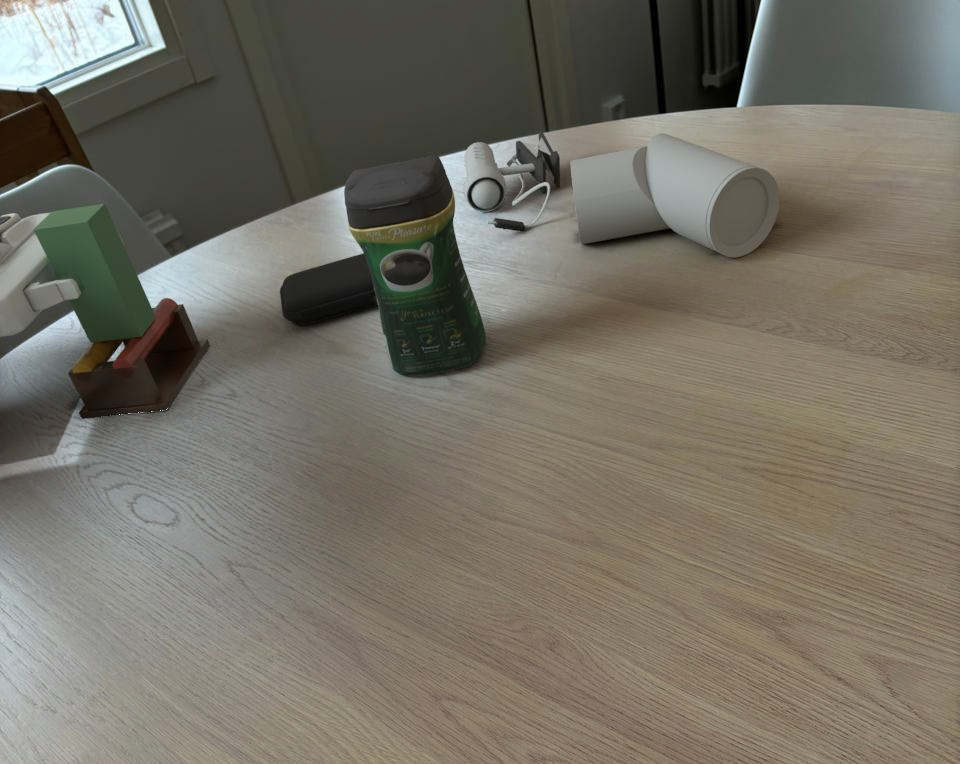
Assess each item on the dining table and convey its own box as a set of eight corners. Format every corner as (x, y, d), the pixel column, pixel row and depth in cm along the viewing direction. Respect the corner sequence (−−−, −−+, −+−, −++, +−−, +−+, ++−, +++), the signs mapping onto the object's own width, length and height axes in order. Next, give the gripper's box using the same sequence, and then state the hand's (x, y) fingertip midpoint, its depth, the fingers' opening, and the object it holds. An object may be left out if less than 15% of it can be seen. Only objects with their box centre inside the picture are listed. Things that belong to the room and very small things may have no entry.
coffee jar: (490, 330, 105) (450, 138, 92) (484, 371, 99) (439, 173, 87) (398, 343, 107) (345, 158, 94) (386, 384, 101) (329, 193, 89)
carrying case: (289, 339, 113) (420, 301, 113) (279, 313, 110) (413, 275, 111) (283, 299, 120) (406, 263, 120) (274, 274, 118) (400, 237, 118)
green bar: (90, 343, 107) (32, 229, 99) (106, 323, 110) (51, 211, 102) (141, 337, 106) (87, 221, 98) (156, 317, 109) (105, 203, 101)
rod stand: (81, 419, 109) (53, 367, 105) (130, 354, 118) (106, 304, 114) (166, 411, 107) (141, 357, 102) (210, 345, 116) (188, 293, 111)
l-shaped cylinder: (758, 171, 115) (578, 205, 119) (759, 78, 107) (565, 118, 110) (784, 276, 106) (587, 309, 109) (788, 182, 97) (573, 222, 101)
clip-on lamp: (574, 245, 122) (552, 158, 132) (573, 196, 116) (550, 109, 126) (473, 260, 122) (459, 171, 132) (468, 211, 116) (453, 122, 127)
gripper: (-92, 300, 97) (36, 283, 94) (12, 207, 112) (126, 188, 108) (-54, 360, 102) (69, 346, 98) (41, 263, 116) (151, 247, 112)
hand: (99, 263), depth 103 cm, fingers open, 8 cm apart
